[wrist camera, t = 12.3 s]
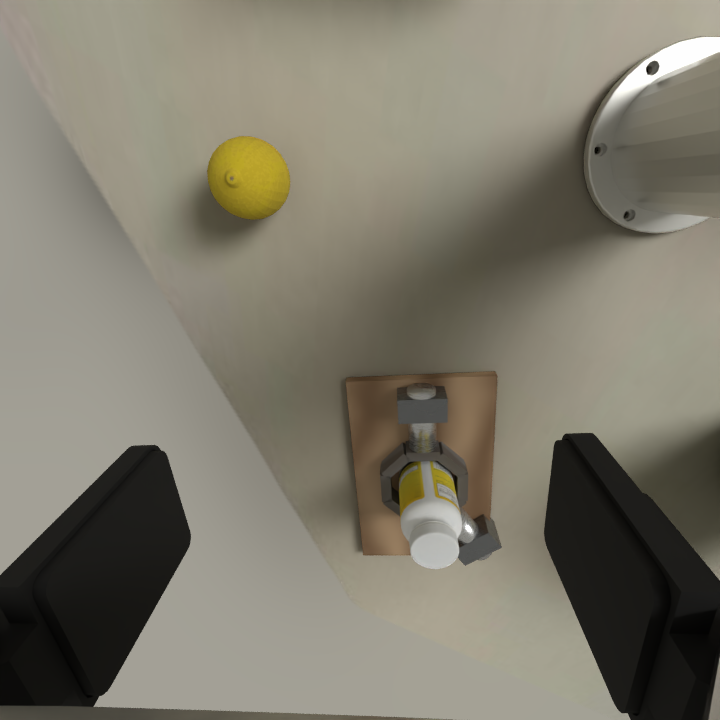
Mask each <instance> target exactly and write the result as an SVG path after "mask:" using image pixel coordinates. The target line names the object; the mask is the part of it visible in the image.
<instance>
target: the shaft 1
mask: <svg viewBox="0 0 720 720" xmlns="http://www.w3.org/2000/svg"><path fill="white" fill-rule="evenodd" d="M397 406H398V424H408V432H409V447H410V449H411V450H413V451H415V452H418V453H428V452H431V451H433V450H434V449H435V448H436V423H448V398H447V394H446V391H445V387H444V386H433V385H431V384H428V383H415V384H412V385H410V386H408V387H400V388H397Z"/></svg>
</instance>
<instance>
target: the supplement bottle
mask: <svg viewBox="0 0 720 720" xmlns="http://www.w3.org/2000/svg"><path fill="white" fill-rule="evenodd" d="M399 500H400V522H401V529H402V532H403V534H404V536H405V538H406V539H407V540H408V541H409V545H410V554H411V556H412V558H413V560H414V561H415V562H416V563H417V564H419V565H420V566H422V567H425V568H429V569H441V568H444V567H447V566H449V565H451V564H452V563H453V562H454V561H455V560H456V559H457V557H458V555H459V545H458V539H457V538H458V537H459V535H460V533H461V530H462V518H461V513H460V509H459V504H458V500H457V495H456V491H455V486H454V482H453V477H452V473H451V471H450V470H449V469H447V468H446V467H445V466H443V465H442V464H441V463H440V462H438V461H413V462H408V463H407V464H406V465H405V466H404V467H403V468H401V469H400V472H399Z"/></svg>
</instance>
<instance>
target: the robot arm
mask: <svg viewBox="0 0 720 720" xmlns="http://www.w3.org/2000/svg"><path fill="white" fill-rule="evenodd" d="M646 67H647V68H648V69H649V72H648V74H647V73H646ZM595 147H597V148H598V153H597V154H595V152H594V149H595ZM584 175H585V180H586V184H587V189H588V191H589V193H590V195H591V197H592V199H593V202H594V203H595V204H596V206H597V207H598V208H599V210H600V211H601V212H602V213H603V214H604V215H605V216H606V217H608V218H609V219H610V220H611V221H613V222H614V223H616V224H618V225H620V226H622V227H624V228H626V229H631V230H635V231H639V232H646V233H669V232H675V231H679V230H683V229H687V228H690V227H692V226H694V225H697V224H699V223H701V222H704V221H706V220H707V219H709V218H711V217H713V218H720V36H700V37H695V38H690V39H686V40H681V41H679V42H676V43H674V44H671V45H669V46H667V47H664V48H662V49H660V50H658V51H656V52H654V53H653V54H651V55H649V56H647V57H645V58H644V59H643V60H641V61H640V62H639V63H637V64H636V65H635V66H633V67H632V68H631V69H629V70H628V71H627V72H626V73H625V74H624V75H623V76H622V77H621V78H620V79H619V80H618V81H617V83H616V84H615V85H614V86H613V87H612V88H611V90H610V91H609V93H608V94H607V95H606V97H605V98H604V100H603V101H602V102H601V104H600V106H599V108H598V110H597V112H596V114H595V116H594V118H593V120H592V123H591V126H590V129H589V132H588V135H587V138H586V144H585V150H584ZM625 212H626V216H625V217H623V215H624V213H625ZM544 536H545V542H546V546H547V549H548V551H549V553H550V556H551V558H552V560H553V563H554V565H555V567H556V569H557V572H558V574H559V576H560V579H561V581H562V583H563V586H564V588H565V590H566V593H567V595H568V597H569V600H570V602H571V604H572V607H573V609H574V611H575V614H576V616H577V618H578V621H579V623H580V625H581V628H582V630H583V632H584V634H585V637H586V639H587V641H588V644H589V646H590V648H591V651H592V653H593V655H594V658H595V660H596V662H597V665H598V667H599V669H600V672H601V674H602V676H603V679H604V681H605V683H606V686H607V688H608V690H609V693H610V695H611V697H612V700H613V702H614V704H615V706H616V707H617V709H618V710H619V711H620V712H621V713H628V715H629V717H630V719H631V720H720V580H719V579H718V578H717V577H716V576H715V574H714V573H713V572H712V571H711V570H710V568H709V567H708V566H707V565H706V564H705V562H704V561H703V560H702V559H701V558H700V556H699V555H698V554H697V553H696V552H695V550H694V549H693V548H692V547H691V546H690V544H689V543H688V542H687V541H686V540H685V538H684V537H683V536H682V535H681V534H680V532H679V531H678V530H677V529H676V528H675V526H674V525H673V524H672V523H671V522H670V520H669V519H668V518H667V517H666V516H665V514H664V513H663V512H662V511H661V510H660V508H659V507H658V506H657V505H656V504H655V502H654V501H653V500H652V499H651V498H650V497H649V496H648V495H647V494H644V493H642V492H641V491H640V489H639V488H638V487H637V486H636V484H635V483H634V482H633V481H632V480H631V478H630V477H629V476H628V475H627V473H626V472H625V471H624V470H623V469H622V467H621V466H620V465H619V464H618V462H617V461H616V460H615V459H614V458H613V456H612V455H611V454H610V453H609V452H608V450H607V449H606V448H605V447H604V445H603V444H602V443H601V442H600V441H599V439H598V438H597V437H596V436H595V435H594V434H593V433H573V434H565V435H564V436H563V438H562V440H557V441H556V442H555V444H554V450H553V459H552V468H551V476H550V485H549V494H548V502H547V511H546V520H545V528H544ZM190 540H191V534H190V530H189V526H188V523H187V520H186V516H185V513H184V510H183V507H182V503H181V500H180V497H179V494H178V490H177V487H176V484H175V480H174V477H173V474H172V470H171V467H170V464H169V460H168V457H167V455H166V453H165V452H164V451H161V450H160V448H159V447H158V446H156V445H144V446H143V445H141V446H131V447H129V448H128V449H127V450H126V451H125V452H124V453H123V454H122V455H121V456H120V457H119V458H118V459H117V460H116V461H115V462H114V463H113V464H112V465H111V466H110V467H109V468H108V469H107V470H106V471H105V472H104V473H103V474H102V475H101V476H100V477H99V478H98V479H97V480H96V481H95V482H94V483H93V484H92V485H91V486H90V487H89V488H88V489H87V490H86V491H85V492H84V493H83V494H82V495H81V496H80V497H79V498H78V499H77V500H76V501H75V502H74V503H73V504H72V505H71V506H70V507H69V508H68V509H67V510H66V511H64V513H62V514H61V516H59V518H57V519H56V520H55V521H54V523H52V524H51V525H50V527H48V528H47V529H46V530H45V531H44V532H43V534H41V535H40V536H39V537H38V538H37V539H36V540H35V541H34V542H33V543H32V544H31V545H30V546H29V548H27V549H26V550H25V551H24V552H23V553H22V554H21V555H20V556H19V557H18V558H17V559H16V560H15V561H14V562H13V563H12V564H11V565H10V566H9V567H8V568H7V569H6V570H5V571H4V572H3V573H2V574H1V575H0V720H447V719H427V718H402V717H378V716H352V715H325V714H297V713H269V712H240V711H211V710H180V709H179V710H178V709H145V708H111V707H93V706H94V705H95V703H96V701H97V699H98V697H99V696H101V695H103V694H105V692H107V691H108V689H109V688H110V686H111V685H112V683H113V681H114V680H115V678H116V676H117V674H118V672H119V670H120V669H121V667H122V665H123V664H124V662H125V660H126V658H127V656H128V655H129V653H130V651H131V649H132V648H133V646H134V644H135V642H136V640H137V639H138V637H139V635H140V633H141V632H142V630H143V628H144V626H145V624H146V623H147V621H148V619H149V617H150V616H151V614H152V612H153V610H154V609H155V607H156V605H157V603H158V601H159V600H160V598H161V596H162V594H163V593H164V591H165V589H166V587H167V585H168V584H169V582H170V580H171V578H172V576H173V575H174V573H175V571H176V569H177V568H178V566H179V564H180V562H181V560H182V559H183V557H184V555H185V553H186V552H187V550H188V548H189V545H190ZM448 720H450V719H448Z"/></svg>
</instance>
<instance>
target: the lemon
mask: <svg viewBox="0 0 720 720" xmlns="http://www.w3.org/2000/svg"><path fill="white" fill-rule="evenodd" d="M207 173H208V183H209V186H210V190H211V192H212V194H213V196H214V198H215V199H216V200H217V202H218V203H219V204H220V205H221V206H222V207H223V208H224V209H226V210H227V211H228V212H230V213H231V214H233V215H236V216H238V217H240V218H245V219H251V220H254V219H263V218H265V217H268V216H270V215H272V214H274V213H275V212H276V211H278V210H279V209H280V208H281V206H282V205H283V204H284V202H285V201H286V199H287V196H288V193H289V188H290V175H289V171H288V168H287V165H286V163H285V161H284V159H283V158H282V156H281V154H280V153H279V152H278V151H277V150H276V149H275V148H274V147H273V146H272V145H270V144H268V143H267V142H265V141H263V140H261V139H258V138H255V137H249V136H239V137H236V138H232V139H229V140H227V141H226V142H224V143H223V144H221V145H220V146H219V147H218V148H217V149H216V150H215V151H214V153H213V154H212V156H211V158H210V161H209V165H208V170H207Z"/></svg>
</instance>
